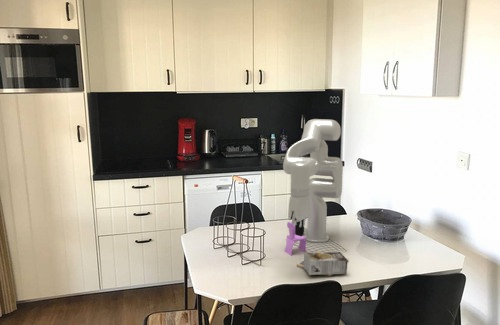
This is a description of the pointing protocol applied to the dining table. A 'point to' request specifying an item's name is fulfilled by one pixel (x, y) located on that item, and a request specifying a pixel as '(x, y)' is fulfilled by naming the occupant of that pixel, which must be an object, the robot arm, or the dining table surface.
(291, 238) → the toy chair
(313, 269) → the coffee box
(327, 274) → the mat
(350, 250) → the dining table surface
